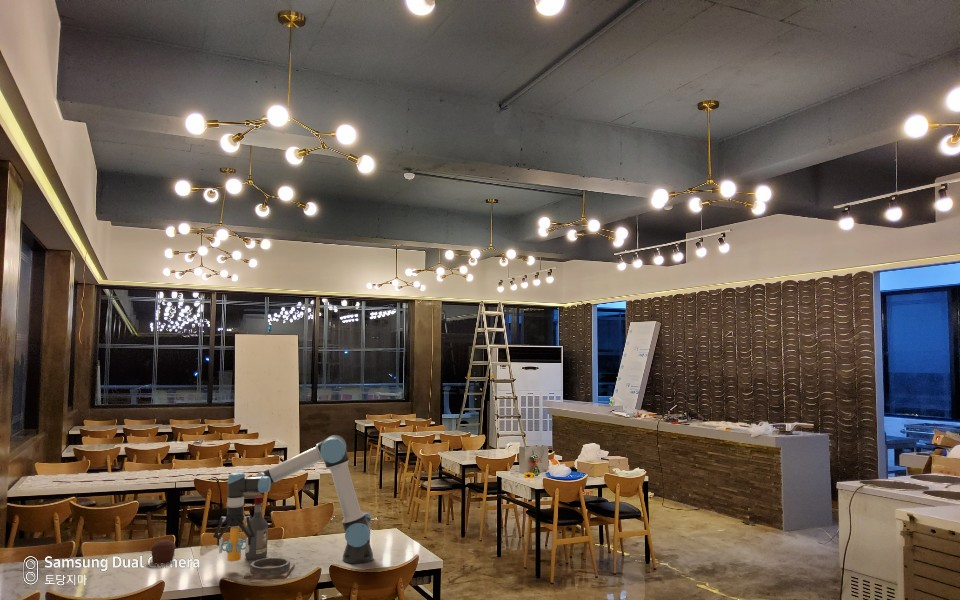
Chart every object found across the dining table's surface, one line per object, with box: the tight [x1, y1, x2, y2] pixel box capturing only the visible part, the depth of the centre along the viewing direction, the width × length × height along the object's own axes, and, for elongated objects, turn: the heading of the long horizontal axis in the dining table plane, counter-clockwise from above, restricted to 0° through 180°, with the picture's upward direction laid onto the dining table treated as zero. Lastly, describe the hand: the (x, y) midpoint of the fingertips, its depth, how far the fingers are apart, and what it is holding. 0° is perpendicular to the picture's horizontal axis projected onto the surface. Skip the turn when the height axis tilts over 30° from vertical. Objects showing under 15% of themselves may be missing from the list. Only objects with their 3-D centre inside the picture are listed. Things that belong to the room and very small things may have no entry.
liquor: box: [244, 495, 269, 561], centre depth 345 cm, size 9×9×30 cm
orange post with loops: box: [221, 526, 246, 562], centre depth 322 cm, size 12×10×15 cm
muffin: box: [150, 539, 177, 565], centre depth 336 cm, size 12×11×10 cm
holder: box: [243, 557, 296, 579], centre depth 320 cm, size 19×19×4 cm
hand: (234, 552), depth 322 cm, fingers closed on orange post with loops, 12 cm apart
